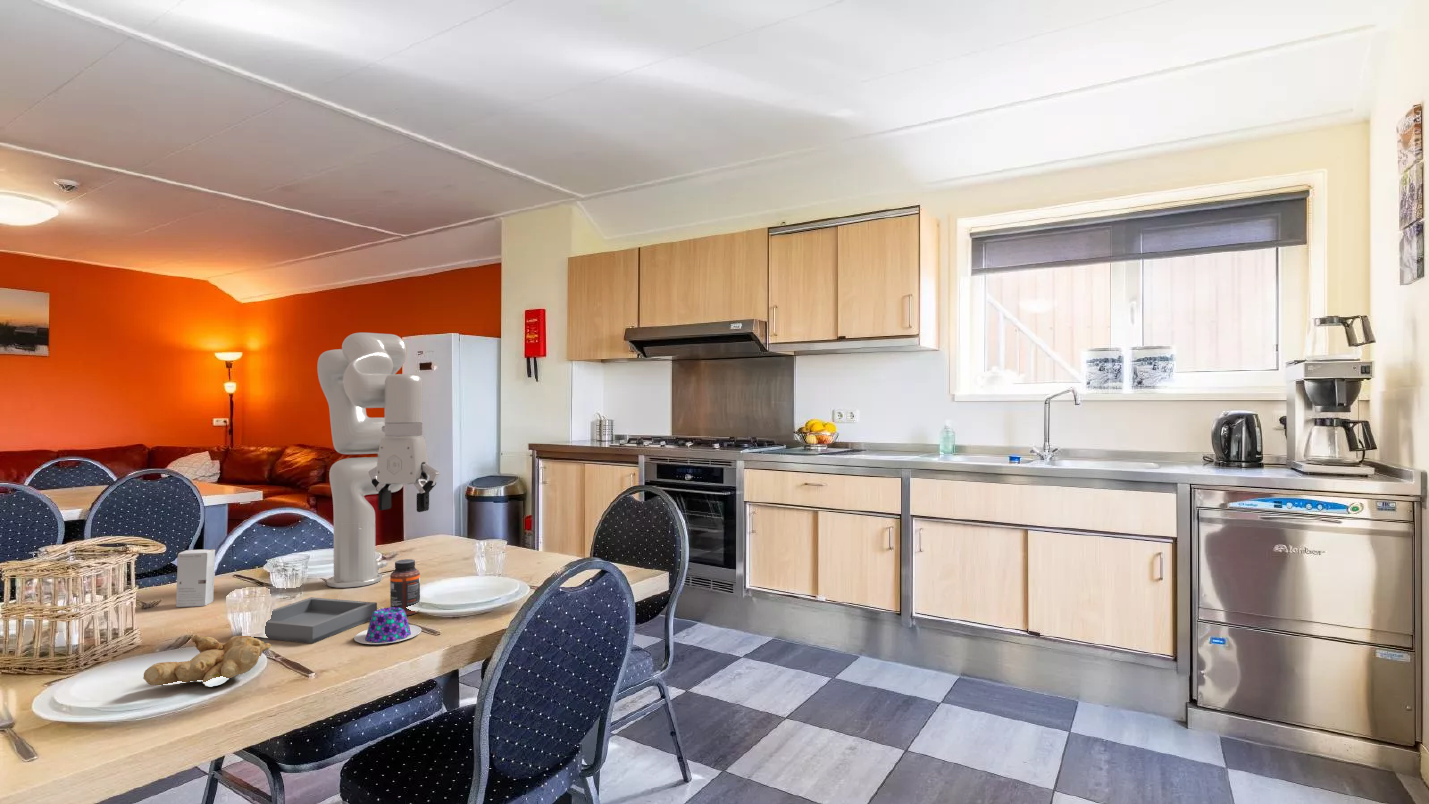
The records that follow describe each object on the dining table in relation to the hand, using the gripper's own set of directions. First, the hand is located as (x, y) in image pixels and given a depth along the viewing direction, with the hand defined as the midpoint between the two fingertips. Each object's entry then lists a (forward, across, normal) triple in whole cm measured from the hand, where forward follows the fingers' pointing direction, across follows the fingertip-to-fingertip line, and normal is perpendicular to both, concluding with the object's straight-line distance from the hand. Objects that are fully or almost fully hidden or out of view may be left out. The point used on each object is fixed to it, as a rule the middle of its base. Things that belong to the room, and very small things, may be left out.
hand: (403, 510), depth 155 cm
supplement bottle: (+22, 0, 0) cm, 23 cm away
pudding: (+23, +8, -14) cm, 28 cm away
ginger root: (+23, -4, -39) cm, 45 cm away
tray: (+22, -12, -13) cm, 28 cm away
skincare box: (+23, -51, -6) cm, 56 cm away
